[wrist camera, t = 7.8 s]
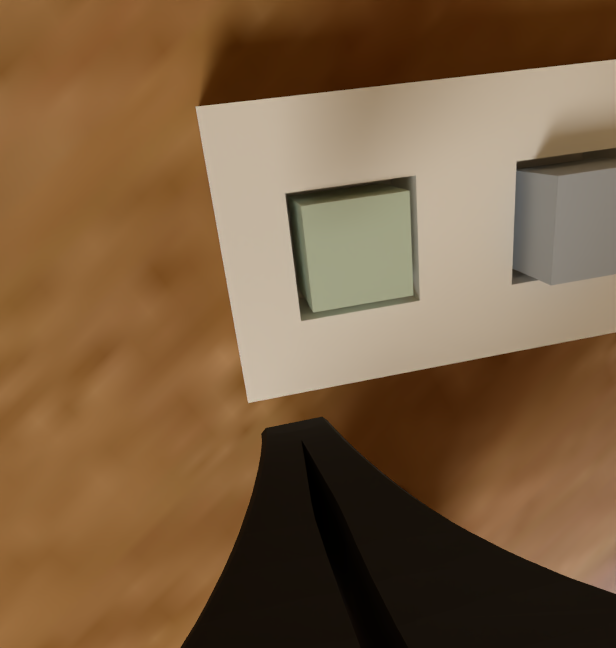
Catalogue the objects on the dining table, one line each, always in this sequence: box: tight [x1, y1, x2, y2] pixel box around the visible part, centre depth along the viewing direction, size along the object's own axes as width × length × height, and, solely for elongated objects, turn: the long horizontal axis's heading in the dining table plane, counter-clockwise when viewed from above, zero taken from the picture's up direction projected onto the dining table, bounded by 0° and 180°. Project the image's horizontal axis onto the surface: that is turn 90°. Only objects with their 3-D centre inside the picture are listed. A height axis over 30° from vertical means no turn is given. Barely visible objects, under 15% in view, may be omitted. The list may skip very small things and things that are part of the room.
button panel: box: [196, 59, 616, 403], centre depth 20 cm, size 10×25×3 cm, turn 96°
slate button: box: [512, 157, 616, 285], centre depth 18 cm, size 4×4×3 cm
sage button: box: [288, 183, 413, 313], centre depth 18 cm, size 4×4×3 cm
